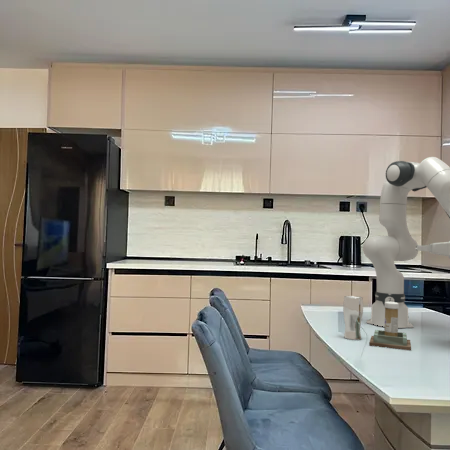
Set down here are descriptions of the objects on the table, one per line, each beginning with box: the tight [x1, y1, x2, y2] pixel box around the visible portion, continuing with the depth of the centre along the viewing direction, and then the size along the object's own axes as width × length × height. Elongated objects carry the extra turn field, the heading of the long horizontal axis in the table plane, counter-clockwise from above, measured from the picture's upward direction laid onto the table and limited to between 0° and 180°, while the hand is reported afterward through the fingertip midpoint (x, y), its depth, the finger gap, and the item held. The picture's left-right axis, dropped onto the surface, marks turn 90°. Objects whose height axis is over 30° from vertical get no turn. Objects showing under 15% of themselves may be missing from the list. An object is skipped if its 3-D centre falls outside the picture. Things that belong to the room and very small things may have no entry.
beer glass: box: [342, 295, 364, 341], centre depth 154 cm, size 7×7×15 cm
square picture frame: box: [368, 329, 412, 351], centre depth 146 cm, size 13×13×4 cm
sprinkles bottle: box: [383, 302, 399, 337], centre depth 147 cm, size 5×5×13 cm
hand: (416, 248), depth 152 cm, fingers open, 8 cm apart
